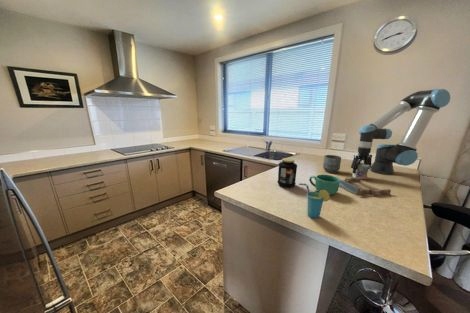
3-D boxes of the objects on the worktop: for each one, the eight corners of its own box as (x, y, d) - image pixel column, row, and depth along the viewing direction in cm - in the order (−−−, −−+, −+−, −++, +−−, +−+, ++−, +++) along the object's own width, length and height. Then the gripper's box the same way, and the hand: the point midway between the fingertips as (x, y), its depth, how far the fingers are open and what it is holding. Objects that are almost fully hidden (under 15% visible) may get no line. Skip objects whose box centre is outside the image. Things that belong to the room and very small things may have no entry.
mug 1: (340, 192, 111) (342, 177, 108) (333, 199, 102) (336, 183, 100) (312, 185, 122) (314, 171, 120) (304, 190, 113) (306, 176, 111)
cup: (293, 213, 87) (296, 184, 84) (298, 207, 93) (301, 179, 90) (325, 224, 79) (330, 192, 76) (328, 216, 85) (333, 186, 82)
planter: (339, 170, 152) (341, 156, 149) (338, 174, 142) (340, 159, 139) (323, 168, 158) (325, 154, 155) (321, 172, 148) (323, 157, 145)
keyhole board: (359, 181, 129) (360, 175, 128) (389, 194, 108) (391, 187, 107) (333, 183, 124) (334, 177, 123) (360, 197, 104) (361, 190, 103)
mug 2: (369, 181, 129) (372, 167, 127) (354, 179, 132) (357, 165, 130) (364, 175, 140) (367, 162, 138) (350, 174, 143) (352, 161, 141)
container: (299, 184, 122) (300, 158, 118) (290, 190, 113) (292, 162, 109) (282, 180, 130) (283, 156, 126) (273, 185, 121) (274, 159, 117)
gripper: (371, 145, 136) (366, 174, 142) (348, 146, 132) (343, 176, 137) (381, 147, 129) (375, 177, 135) (357, 148, 125) (351, 179, 130)
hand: (359, 176), depth 136 cm, fingers closed on mug 2, 8 cm apart
